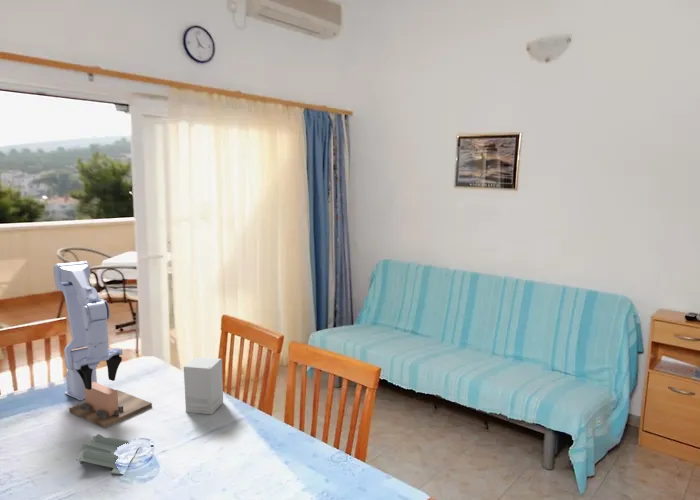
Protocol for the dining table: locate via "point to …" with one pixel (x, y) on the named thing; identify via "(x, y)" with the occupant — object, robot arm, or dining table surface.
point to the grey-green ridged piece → (101, 452)
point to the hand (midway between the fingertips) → (100, 384)
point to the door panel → (102, 398)
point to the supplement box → (203, 385)
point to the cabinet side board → (126, 407)
